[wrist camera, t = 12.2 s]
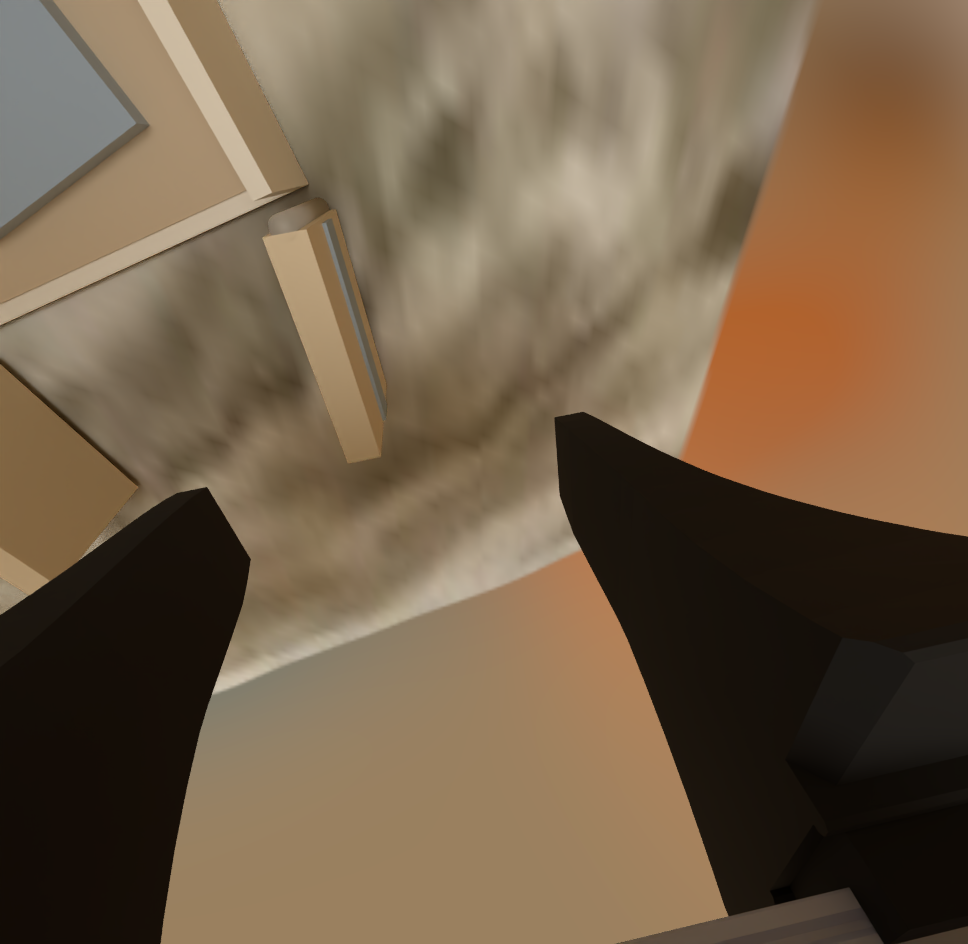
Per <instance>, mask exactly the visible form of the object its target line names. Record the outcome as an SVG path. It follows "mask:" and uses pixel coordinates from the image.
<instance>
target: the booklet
mask: <svg viewBox="0 0 968 944" xmlns="http://www.w3.org/2000/svg"><path fill="white" fill-rule="evenodd" d="M148 126H150V125H149V123H148V122H147V121H146V120H145V118H144V117H143V116H142V114H141V113H140V112H139V111H138V109H137V108H136V107H135V105H134V104H133V103H132V102H131V100H130V99H129V98H128V96H127V95H126V94H125V93H124V91H123V90H122V89H121V87H120V86H119V85H118V84H117V82H116V81H115V80H114V78H113V77H112V76H111V75H110V73H109V72H108V71H107V69H106V68H105V67H104V66H103V64H102V63H101V62H100V60H99V59H98V58H97V57H96V55H95V54H94V53H93V51H92V50H91V49H90V48H89V46H88V45H87V44H86V42H85V41H84V40H83V39H82V37H81V36H80V35H79V33H78V32H77V31H76V30H75V28H74V27H73V26H72V24H71V23H70V22H69V21H68V19H67V18H66V17H65V15H64V14H63V13H62V12H61V10H60V9H59V8H58V7H57V5H56V4H55V3H54V1H53V0H0V239H2V238H3V237H4V236H6V235H7V234H8V233H10V232H11V231H12V230H14V229H15V228H16V227H17V226H19V225H20V224H21V223H23V222H24V221H25V220H27V219H28V218H29V217H31V216H32V215H33V214H34V213H36V212H37V211H38V210H40V209H41V208H42V207H44V206H45V205H46V204H48V203H49V202H50V201H51V200H53V199H54V198H55V197H57V196H58V195H59V194H61V193H62V192H63V191H65V190H66V189H67V188H68V187H70V186H71V185H72V184H74V183H75V182H76V181H78V180H79V179H80V178H82V177H83V176H84V175H85V174H87V173H88V172H89V171H91V170H92V169H93V168H95V167H96V166H97V165H99V164H100V163H101V162H102V161H104V160H105V159H106V158H108V157H109V156H110V155H112V154H113V153H114V152H116V151H117V150H118V149H119V148H121V147H122V146H123V145H125V144H126V143H127V142H129V141H130V140H131V139H133V138H134V137H135V136H136V135H138V134H139V133H140V132H142V131H143V130H144V129H146V128H147V127H148Z"/></svg>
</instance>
